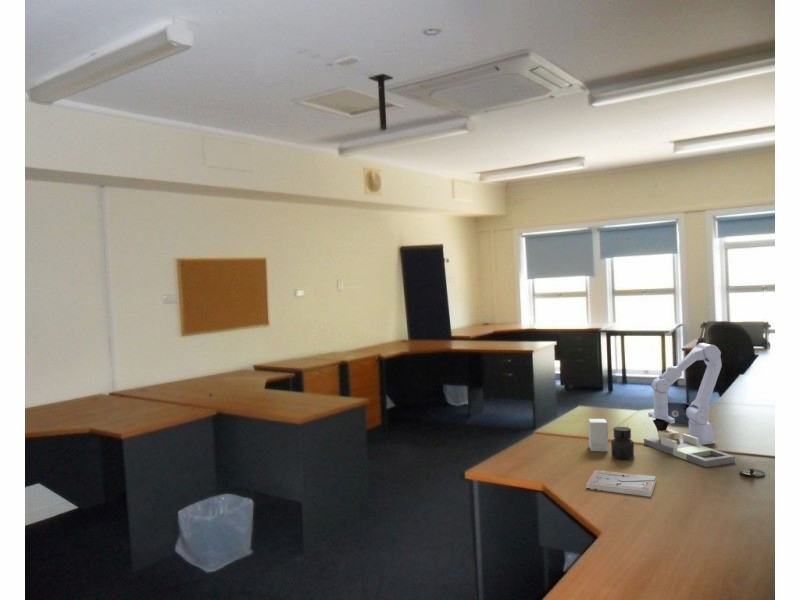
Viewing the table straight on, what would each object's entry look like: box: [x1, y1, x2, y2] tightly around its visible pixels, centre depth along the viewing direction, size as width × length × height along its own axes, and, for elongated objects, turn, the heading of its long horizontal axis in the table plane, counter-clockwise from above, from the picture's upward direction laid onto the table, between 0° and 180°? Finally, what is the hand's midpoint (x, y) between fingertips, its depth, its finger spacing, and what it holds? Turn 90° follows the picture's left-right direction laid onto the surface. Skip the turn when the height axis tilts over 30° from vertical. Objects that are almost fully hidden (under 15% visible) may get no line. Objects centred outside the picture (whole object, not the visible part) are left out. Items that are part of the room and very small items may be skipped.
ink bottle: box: [610, 426, 635, 461], centre depth 250 cm, size 10×9×12 cm
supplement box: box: [587, 418, 609, 452], centre depth 263 cm, size 7×7×13 cm
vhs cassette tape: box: [668, 401, 691, 425], centre depth 300 cm, size 18×3×10 cm, turn 58°
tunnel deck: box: [643, 433, 735, 468], centre depth 252 cm, size 14×36×6 cm, turn 16°
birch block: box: [657, 429, 680, 442], centre depth 262 cm, size 6×6×4 cm
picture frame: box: [585, 469, 657, 498], centre depth 218 cm, size 16×2×22 cm
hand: (661, 436), depth 266 cm, fingers closed
